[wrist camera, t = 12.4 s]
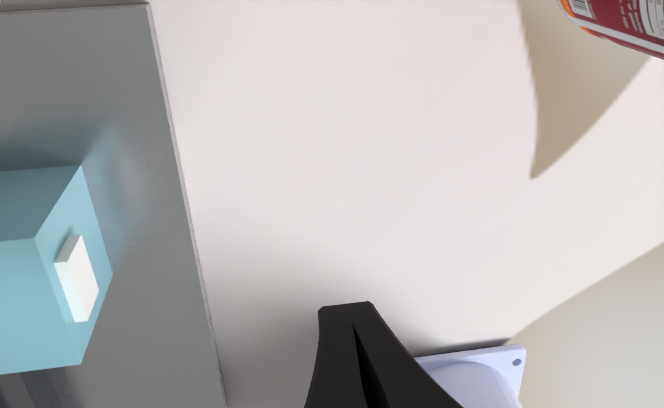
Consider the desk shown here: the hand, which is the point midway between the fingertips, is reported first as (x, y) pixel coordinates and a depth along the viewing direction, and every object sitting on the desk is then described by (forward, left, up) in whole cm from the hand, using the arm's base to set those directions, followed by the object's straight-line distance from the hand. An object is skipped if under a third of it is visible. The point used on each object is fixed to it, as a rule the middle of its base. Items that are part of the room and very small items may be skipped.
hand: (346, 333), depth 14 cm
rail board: (-4, +10, -9) cm, 14 cm away
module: (-1, +10, -9) cm, 14 cm away
